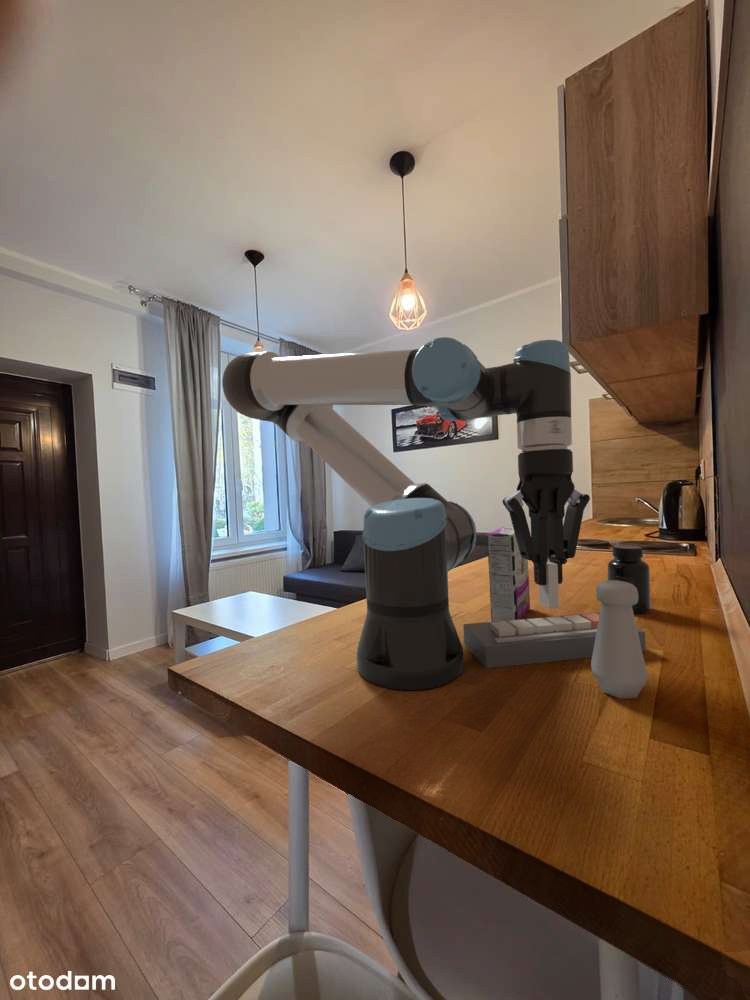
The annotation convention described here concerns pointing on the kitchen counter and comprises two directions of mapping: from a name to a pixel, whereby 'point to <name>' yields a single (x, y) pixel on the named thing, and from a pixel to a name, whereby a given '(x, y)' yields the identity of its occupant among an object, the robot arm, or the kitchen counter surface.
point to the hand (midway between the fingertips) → (549, 605)
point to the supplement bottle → (632, 573)
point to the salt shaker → (618, 642)
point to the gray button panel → (534, 639)
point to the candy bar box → (507, 576)
